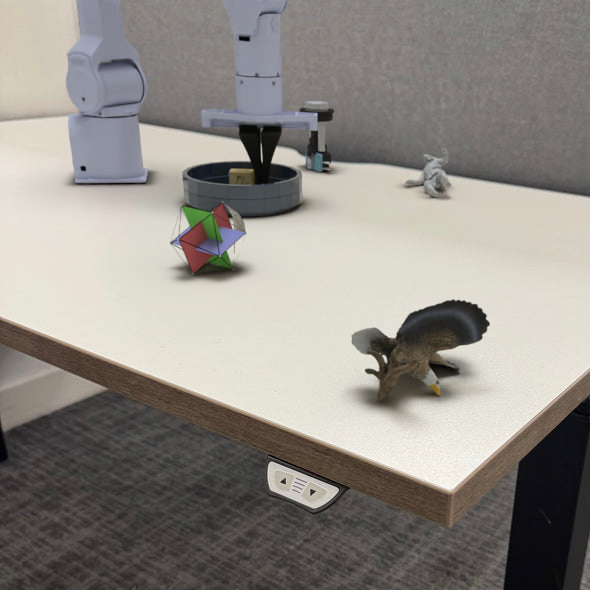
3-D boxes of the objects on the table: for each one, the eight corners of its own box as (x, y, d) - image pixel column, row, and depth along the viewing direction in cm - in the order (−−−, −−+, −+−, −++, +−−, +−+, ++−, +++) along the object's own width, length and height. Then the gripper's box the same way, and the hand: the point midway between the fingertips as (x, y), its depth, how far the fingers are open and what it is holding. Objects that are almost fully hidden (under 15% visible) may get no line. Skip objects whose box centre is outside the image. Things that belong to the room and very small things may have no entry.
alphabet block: (231, 190, 108) (230, 167, 107) (254, 190, 108) (253, 168, 107) (229, 195, 105) (228, 172, 104) (253, 195, 106) (252, 172, 104)
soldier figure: (409, 204, 112) (395, 160, 120) (430, 224, 115) (414, 180, 123) (452, 168, 109) (434, 126, 117) (472, 189, 112) (453, 147, 120)
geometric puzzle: (195, 267, 74) (227, 190, 74) (143, 253, 77) (175, 178, 77) (239, 295, 80) (268, 223, 81) (190, 280, 83) (218, 211, 84)
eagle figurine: (446, 412, 52) (510, 348, 58) (392, 320, 51) (464, 263, 57) (374, 430, 58) (439, 370, 64) (323, 348, 56) (395, 294, 62)
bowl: (184, 219, 96) (181, 186, 94) (185, 190, 109) (182, 160, 107) (308, 217, 100) (308, 185, 98) (295, 189, 113) (294, 160, 111)
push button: (344, 172, 124) (344, 105, 120) (314, 175, 122) (313, 106, 117) (323, 164, 129) (323, 99, 124) (294, 167, 126) (293, 100, 122)
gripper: (317, 74, 102) (317, 179, 109) (203, 69, 101) (210, 177, 107) (316, 79, 96) (317, 191, 103) (195, 75, 95) (204, 189, 101)
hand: (262, 185), depth 104 cm, fingers closed
